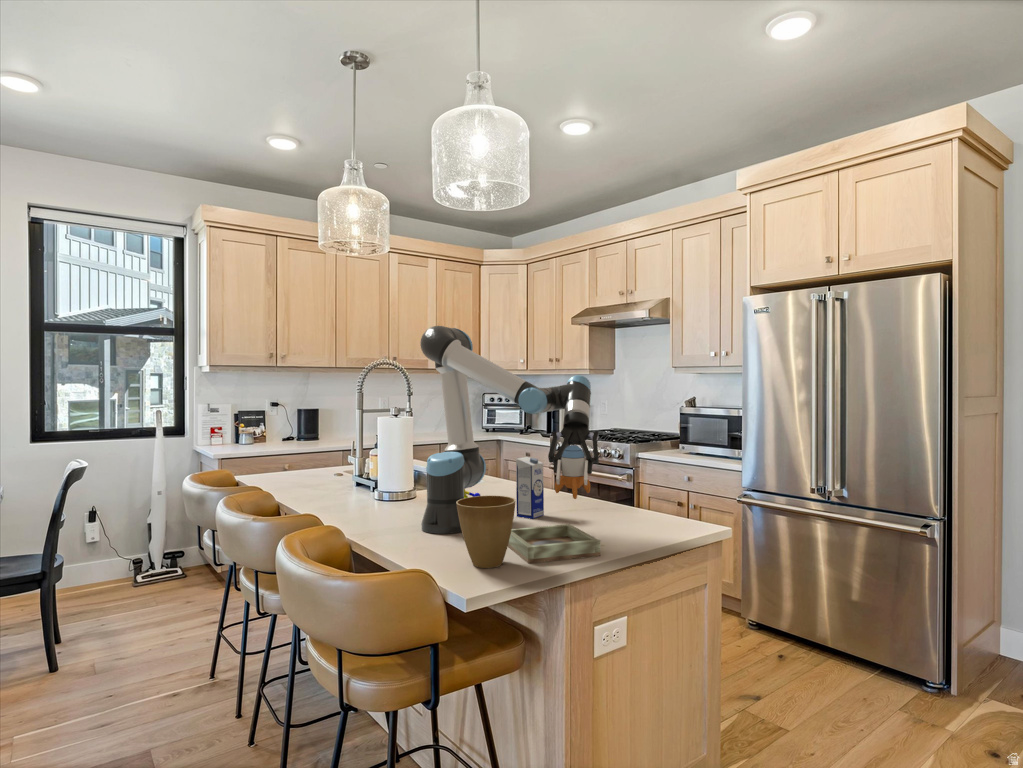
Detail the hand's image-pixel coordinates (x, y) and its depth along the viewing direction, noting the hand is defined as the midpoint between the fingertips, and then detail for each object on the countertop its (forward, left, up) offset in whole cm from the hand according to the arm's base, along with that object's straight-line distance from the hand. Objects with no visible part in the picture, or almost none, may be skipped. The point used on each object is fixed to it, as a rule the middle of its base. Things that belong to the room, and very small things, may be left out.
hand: (571, 482), depth 167 cm
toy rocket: (+2, +3, -5) cm, 6 cm away
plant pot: (-27, -7, -18) cm, 33 cm away
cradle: (-7, 0, -18) cm, 19 cm away
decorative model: (-17, +66, -18) cm, 70 cm away
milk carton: (+2, +42, -18) cm, 46 cm away
